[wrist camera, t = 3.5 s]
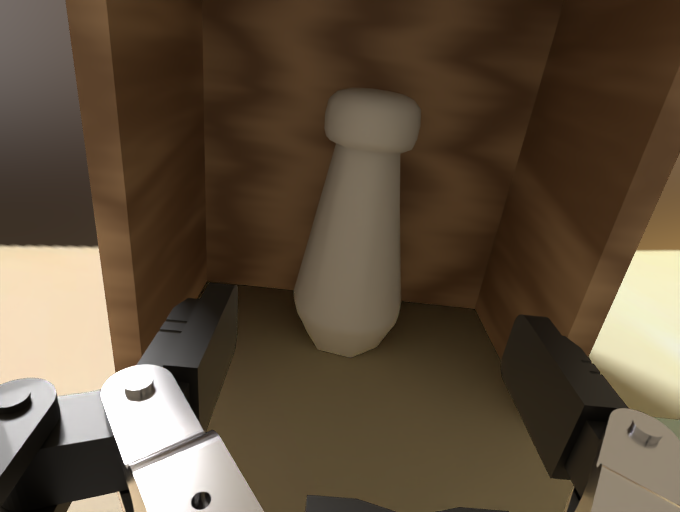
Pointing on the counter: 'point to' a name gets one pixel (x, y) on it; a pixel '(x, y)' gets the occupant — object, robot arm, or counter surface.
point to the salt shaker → (357, 223)
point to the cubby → (415, 165)
